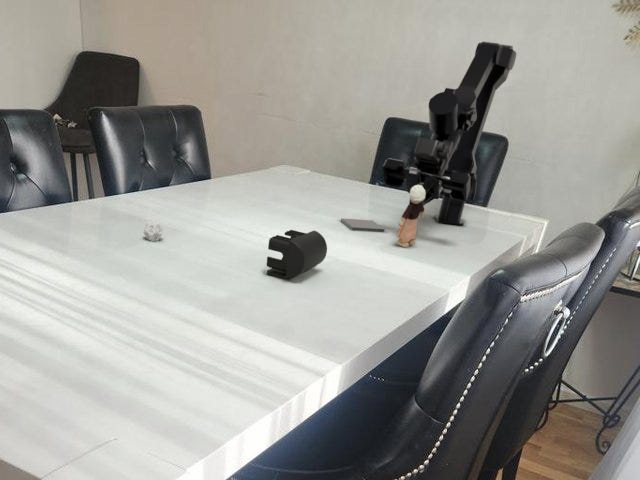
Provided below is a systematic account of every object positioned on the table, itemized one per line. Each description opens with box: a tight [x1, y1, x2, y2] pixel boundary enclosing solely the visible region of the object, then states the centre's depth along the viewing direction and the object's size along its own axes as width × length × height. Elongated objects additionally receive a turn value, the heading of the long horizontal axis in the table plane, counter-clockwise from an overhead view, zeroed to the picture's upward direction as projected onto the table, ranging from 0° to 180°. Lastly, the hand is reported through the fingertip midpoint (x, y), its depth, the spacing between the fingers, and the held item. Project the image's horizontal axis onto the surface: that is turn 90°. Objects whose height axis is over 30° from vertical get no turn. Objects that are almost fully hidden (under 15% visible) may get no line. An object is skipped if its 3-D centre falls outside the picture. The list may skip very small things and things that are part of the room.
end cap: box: [266, 229, 328, 281], centre depth 113 cm, size 10×7×7 cm
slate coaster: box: [340, 218, 386, 233], centre depth 151 cm, size 8×8×1 cm
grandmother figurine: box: [396, 184, 426, 248], centre depth 135 cm, size 8×4×13 cm, turn 143°
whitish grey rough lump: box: [143, 221, 164, 242], centre depth 121 cm, size 4×4×3 cm
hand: (410, 212), depth 137 cm, fingers closed
